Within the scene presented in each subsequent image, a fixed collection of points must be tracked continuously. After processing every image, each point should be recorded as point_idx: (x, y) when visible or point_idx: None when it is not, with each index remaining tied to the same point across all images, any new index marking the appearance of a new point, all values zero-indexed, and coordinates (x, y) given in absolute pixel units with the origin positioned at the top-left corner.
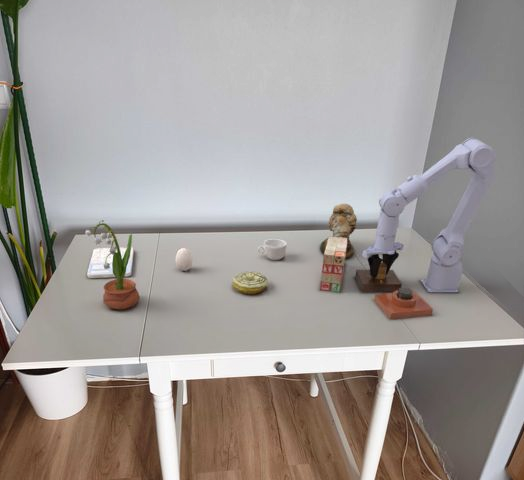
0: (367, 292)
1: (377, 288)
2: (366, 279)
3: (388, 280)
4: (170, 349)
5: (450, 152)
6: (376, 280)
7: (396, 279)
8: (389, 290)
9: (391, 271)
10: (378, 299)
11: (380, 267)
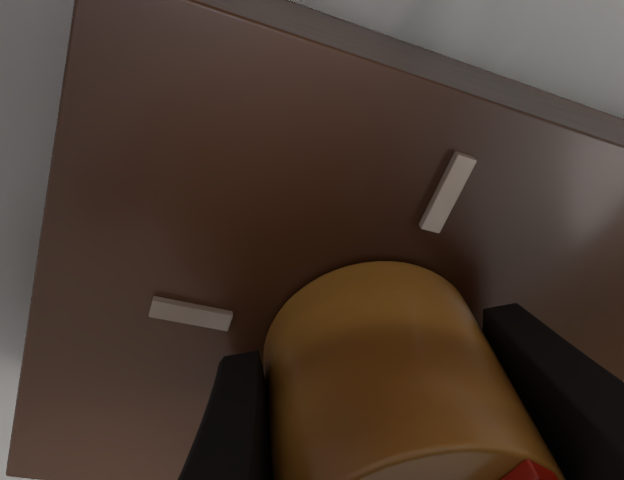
0: (606, 114)
1: (521, 95)
2: (599, 309)
3: (283, 199)
4: None
5: None
6: (487, 248)
7: (101, 193)
8: (317, 16)
9: (54, 440)
10: None
11: (533, 463)
